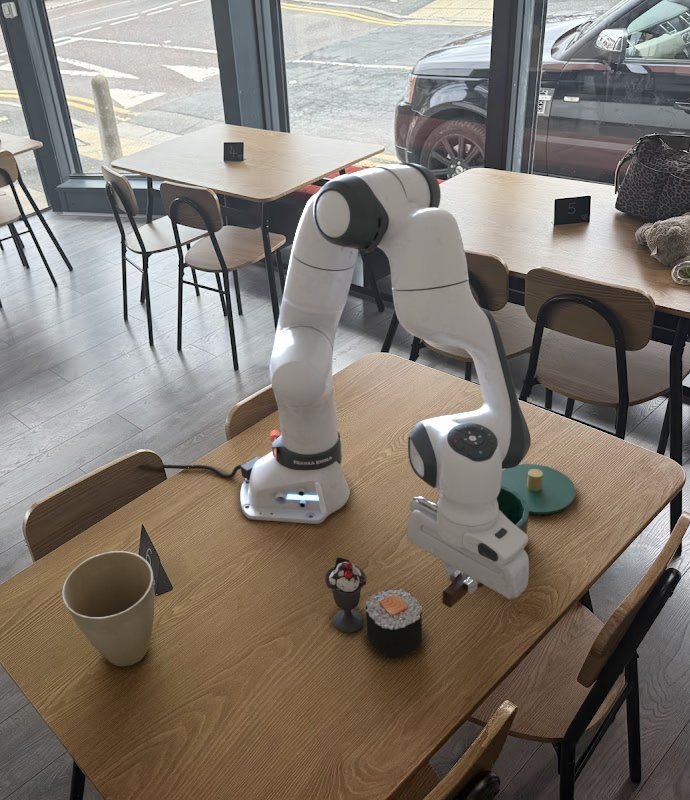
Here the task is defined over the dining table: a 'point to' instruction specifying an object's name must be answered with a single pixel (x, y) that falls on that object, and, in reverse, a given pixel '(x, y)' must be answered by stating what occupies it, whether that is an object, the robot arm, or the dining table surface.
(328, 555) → the dining table surface
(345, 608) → the sundae
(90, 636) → the plant pot
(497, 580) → the robot arm
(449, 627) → the dining table surface
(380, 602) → the sushi
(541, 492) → the lid
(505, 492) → the tin
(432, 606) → the dining table surface
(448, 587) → the brown bar with disc
